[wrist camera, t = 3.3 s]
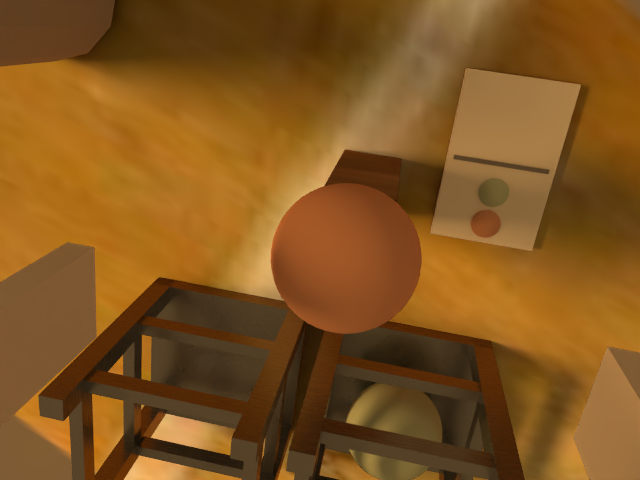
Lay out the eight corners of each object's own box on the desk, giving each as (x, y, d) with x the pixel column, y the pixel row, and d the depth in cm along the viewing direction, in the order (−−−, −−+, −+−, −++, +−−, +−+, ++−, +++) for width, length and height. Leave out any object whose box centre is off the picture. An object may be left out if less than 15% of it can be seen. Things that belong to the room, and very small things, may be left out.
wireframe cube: (158, 277, 32) (38, 395, 22) (309, 306, 31) (257, 443, 21) (156, 402, 35) (50, 555, 25) (292, 431, 34) (240, 602, 24)
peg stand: (344, 149, 27) (321, 192, 20) (401, 158, 27) (396, 204, 20) (336, 203, 28) (311, 260, 21) (391, 212, 28) (383, 274, 21)
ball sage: (357, 353, 30) (347, 412, 26) (448, 372, 30) (454, 434, 25) (344, 425, 32) (332, 492, 28) (430, 444, 32) (432, 514, 27)
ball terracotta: (295, 157, 20) (260, 195, 16) (433, 180, 20) (439, 226, 15) (281, 279, 22) (247, 346, 17) (407, 303, 22) (405, 377, 17)
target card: (465, 67, 25) (466, 68, 25) (578, 84, 25) (581, 85, 24) (430, 230, 28) (430, 233, 28) (530, 248, 28) (532, 252, 27)
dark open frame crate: (330, 310, 31) (288, 450, 21) (491, 341, 30) (530, 503, 20) (311, 435, 34) (267, 609, 24) (455, 466, 33) (473, 660, 23)
